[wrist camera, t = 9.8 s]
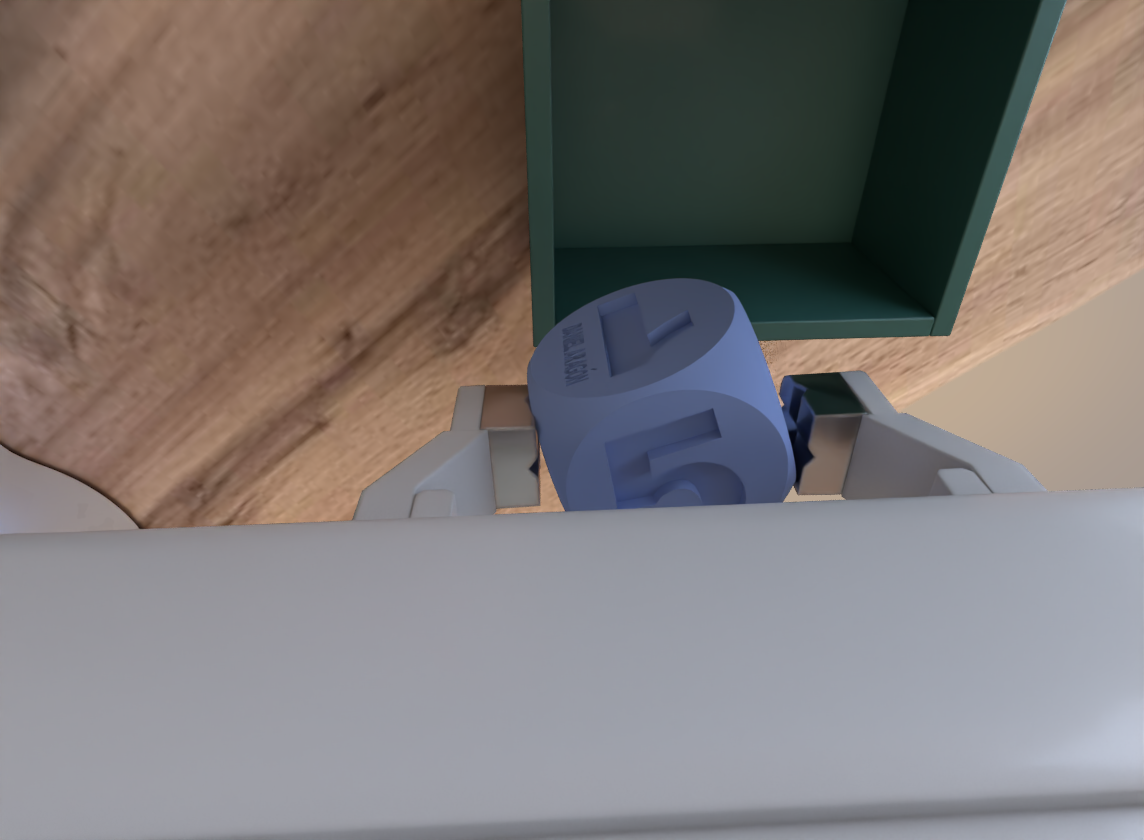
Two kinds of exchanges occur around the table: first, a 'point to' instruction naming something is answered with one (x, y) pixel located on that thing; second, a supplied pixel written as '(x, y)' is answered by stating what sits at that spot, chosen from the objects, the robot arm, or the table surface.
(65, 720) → the robot arm
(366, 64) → the table surface
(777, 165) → the chest
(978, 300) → the table surface
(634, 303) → the decorative dice
